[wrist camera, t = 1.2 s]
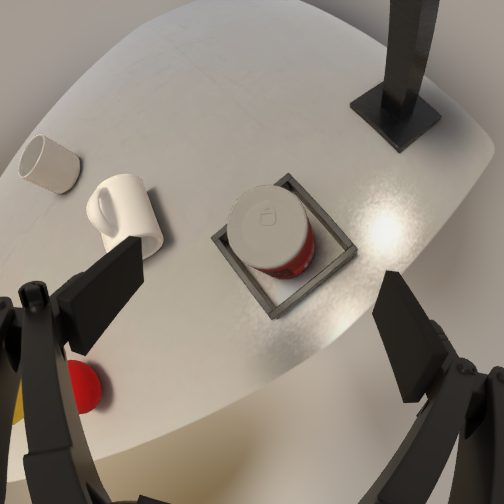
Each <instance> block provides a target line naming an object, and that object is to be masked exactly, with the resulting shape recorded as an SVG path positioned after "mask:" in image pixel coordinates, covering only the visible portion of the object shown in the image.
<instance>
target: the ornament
mask: <svg viewBox="0 0 504 504" xmlns="http://www.w3.org/2000/svg"><path fill="white" fill-rule="evenodd" d="M67 363H68V369H69V374H70V379H71V384H72V388H73V393H74V397H75V401H76V405H77V409H78V413H79V414H84V413H88V412H90V411H91V410H93V409H94V408H95V407H96V406H97V405H98V403H99V401H100V398H101V391H102V389H101V383H100V380H99V378H98V376H97V374H96V373H95V372H94V370H93V369H92V368H91V367H89V366H88V365H87V364H85V363H83V362H80V361H76V360H67Z"/></svg>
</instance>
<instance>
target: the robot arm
mask: <svg viewBox="0 0 504 504" xmlns="http://www.w3.org/2000/svg"><path fill="white" fill-rule="evenodd" d="M143 282H144V275H143V259H142V238H141V237H136V236H128V237H127V238H126V239H124V240H123V241H122V242H120V243H119V244H118V245H117V246H115V247H114V248H113V249H112V250H110V251H109V252H108V253H107V254H106V255H104V256H103V257H102V258H101V259H100V260H98V261H97V262H96V263H95V264H94V265H92V266H91V267H90V268H89V269H88V270H86V271H85V272H81V273H79V274H76V275H74V276H73V277H72V278H70V279H69V280H68V281H67V282H66V283H64V284H63V285H62V287H60V288H59V289H58V290H56V291H55V292H54V293H53V294H52V295H51V296H50V297H49V295H48V290H47V286H46V284H45V283H44V282H42V281H32V282H28V283H26V284H24V285H23V286H21V287H20V288H19V291H18V293H19V297H20V300H21V303H22V307H23V308H17V307H13V303H12V301H11V299H10V298H9V297H0V504H4V501H5V495H6V483H7V466H8V454H9V445H10V437H11V430H12V423H13V417H14V411H15V406H16V401H17V396H18V391H19V386H20V382H21V380H22V398H23V411H24V420H25V429H26V436H27V443H28V450H29V452H28V454H26V455H24V457H23V465H24V470H25V475H26V480H27V484H28V489H29V493H30V497H31V501H32V504H170V503H166V502H162V501H158V500H155V499H152V498H149V497H146V496H142V495H139V498H138V501H119V502H118V501H117V502H111V499H110V498H109V496H108V494H107V492H106V491H105V489H104V488H103V485H102V483H101V481H100V478H99V476H98V473H97V470H96V468H95V465H94V462H93V459H92V456H91V453H90V450H89V447H88V444H87V441H86V438H85V435H84V431H83V428H82V424H81V421H80V417H79V413H78V409H77V405H76V401H75V397H74V393H73V388H72V384H71V379H70V374H69V369H68V363H67V357H66V352H65V349H64V345H65V344H66V343H67V342H69V345H70V348H71V351H73V352H75V353H78V354H81V355H84V356H86V355H87V353H88V352H89V351H90V349H91V348H92V347H93V345H94V344H95V343H96V341H97V340H98V339H99V338H100V336H101V335H102V334H103V332H104V331H105V330H106V328H107V327H108V326H109V325H110V323H111V322H112V321H113V320H114V318H115V317H116V316H117V314H118V313H119V312H120V311H121V309H122V308H123V307H124V306H125V304H126V303H127V302H128V301H129V299H130V298H131V297H132V296H133V295H134V293H135V292H136V291H137V290H138V288H139V287H140V286H141V285H142V284H143ZM372 315H373V317H374V320H375V322H376V325H377V328H378V330H379V333H380V336H381V338H382V341H383V344H384V346H385V349H386V352H387V355H388V357H389V361H390V363H391V366H392V369H393V372H394V375H395V378H396V381H397V384H398V387H399V390H400V393H401V397H402V400H403V403H414V402H415V403H416V402H419V401H420V399H421V398H422V397H423V395H424V393H426V395H427V398H428V400H427V401H426V403H425V405H424V406H423V407H422V409H421V410H420V411H419V413H418V414H417V419H416V421H415V422H414V424H413V426H412V427H411V429H410V431H409V432H408V434H407V436H406V437H405V439H404V440H403V442H402V444H401V445H400V447H399V449H398V450H397V451H396V453H395V454H394V456H393V457H392V459H391V460H390V462H389V463H388V465H387V466H386V468H385V469H384V470H383V472H382V473H381V475H380V476H379V477H378V479H377V480H376V481H375V483H374V484H373V485H372V486H371V488H370V489H369V490H368V492H367V493H366V494H365V495H364V497H363V498H362V499H361V500H360V502H359V503H358V504H425V503H426V502H427V500H428V498H429V496H430V495H431V493H432V491H433V489H434V487H435V485H436V483H437V481H438V479H439V477H440V475H441V473H442V471H443V469H444V467H445V464H446V462H447V460H448V458H449V456H450V453H451V451H452V449H453V446H454V444H455V441H456V439H457V436H458V434H459V443H458V452H457V458H456V465H455V471H454V477H453V483H452V487H451V492H450V497H449V501H448V504H504V368H503V367H499V366H496V367H494V368H493V369H492V370H491V372H490V373H489V374H488V375H487V374H482V373H478V372H477V369H476V367H475V365H474V364H473V363H472V362H470V361H469V360H467V359H465V358H459V356H458V355H457V353H456V351H455V349H454V348H453V346H452V344H451V343H450V341H448V338H447V336H446V335H445V333H444V331H443V330H442V328H441V327H440V326H439V325H438V324H437V323H436V322H435V321H434V320H429V318H428V317H427V315H426V313H425V312H424V310H423V309H422V307H421V305H420V304H419V302H418V301H417V299H416V298H415V296H414V294H413V293H412V291H411V290H410V288H409V287H408V285H407V284H406V282H405V281H404V279H403V278H402V276H401V275H400V273H399V272H395V271H387V270H386V273H385V276H384V279H383V282H382V285H381V288H380V292H379V295H378V298H377V301H376V304H375V306H374V309H373V312H372ZM459 431H460V433H459Z"/></svg>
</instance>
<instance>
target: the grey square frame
mask: <svg viewBox="0 0 504 504" xmlns="http://www.w3.org/2000/svg"><path fill="white" fill-rule="evenodd" d="M274 186H279V187H282V188H284V189H287V190H288V191H290V190H292V191H293V192H294V193H295V194H296V195H297V196H298V197H299V198H300V200H301V201H302V202H303V203H304V204H305V205H306V206H307V207H308V208H309V209H310V211H311V212H312V213H313V214H314V215H315V216H316V217H317V218H318V219H319V221H320V222H321V223H322V224H323V225H324V226H325V227H326V229H327V230H328V231H329V232H330V233H331V234H332V235H333V237H334V238H335V239H336V240H337V241H338V242H339V244H340V245H341V246H342V247H343V248H344V249H345V252H344V253H343V254H341V255H340V256H339V257H338V258H337V259H335V260H334V261H333V262H332V263H331V264H330V265H328V266H327V267H326V268H325V269H324V270H322V271H321V272H320V273H319V274H318V275H316V276H315V277H314V278H313V279H312V280H310V281H309V282H308V283H307V284H305V285H304V286H303V287H302V288H300V289H299V290H298V291H297V292H296V293H294V294H293V295H292V296H291V297H289V298H288V299H287V300H286V301H284V302H283V303H282V304H281V305H279V306H278V307H277V308H276V307H275V306H274V305H273V303H272V302H271V301H270V299H269V298H268V297H267V295H266V294H265V293H264V292H263V290H262V289H261V288H260V286H259V285H258V284H257V282H256V281H255V280H254V278H253V277H252V276H251V274H250V273H249V272H248V270H247V269H246V268H245V266H244V265H243V264H242V263H241V261H240V260H239V259H238V257H237V256H236V255H235V253H234V252H233V251H232V249H231V248H230V247H229V245H228V244H227V243H228V242H229V240H228V236H227V224H226V225H225V226H224V227H223V228H221V229H220V230H219V231H218V232H217V233H216V234H214V235H213V236H212V237H211V239H212V240H213V242H214V243H215V244H216V246H217V247H218V249H219V250H220V251H221V253H222V254H223V255H224V257H225V258H226V260H227V261H228V262H229V264H230V265H231V266H232V268H233V269H234V270H235V272H236V273H237V274H238V276H239V277H240V278H241V280H242V281H243V282H244V284H245V285H246V286H247V288H248V289H249V291H250V292H251V293H252V295H253V296H254V297H255V299H256V300H257V301H258V302H259V304H260V305H261V306H262V308H263V309H264V310H265V312H266V313H267V314H268V316H269V317H270V318H271V320H273V319H277V318H279V317H280V316H281V315H282V314H284V313H285V312H286V311H288V310H289V309H290V308H291V307H293V306H294V305H295V304H296V303H298V302H299V301H300V300H301V299H303V298H304V297H305V296H306V295H308V294H309V293H310V292H311V291H313V290H314V289H315V288H316V287H317V286H319V285H320V284H321V283H322V282H324V281H325V280H326V279H327V278H328V277H330V276H331V275H332V274H333V273H334V272H336V271H337V270H338V269H339V268H340V267H341V266H343V265H344V264H345V263H346V262H347V261H348V260H350V259H351V258H352V257H353V256H354V255H355V254H356V253H357V250H358V249H357V247H356V246H355V245H354V244H353V243H352V242H351V240H350V239H349V238H348V237H347V236H346V235H345V233H344V232H343V231H342V230H341V229H340V228H339V227H338V225H337V224H336V223H335V222H334V221H333V220H332V219H331V218H330V216H329V215H328V214H327V213H326V212H325V211H324V210H323V209H322V208H321V207H320V205H319V204H318V203H317V202H316V201H315V200H314V199H313V198H312V197H311V196H310V195H309V194H308V192H307V191H306V190H305V189H304V188H303V187H302V186H301V185H300V184H299V183H298V182H297V181H296V180H295V179H294V178H293V177H292V176H291V175H290V174H289V173H287V174H286V175H285V176H284V177H283V178H281V179H280V180H279V181H278V182H276V183H275V184H274Z"/></svg>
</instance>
